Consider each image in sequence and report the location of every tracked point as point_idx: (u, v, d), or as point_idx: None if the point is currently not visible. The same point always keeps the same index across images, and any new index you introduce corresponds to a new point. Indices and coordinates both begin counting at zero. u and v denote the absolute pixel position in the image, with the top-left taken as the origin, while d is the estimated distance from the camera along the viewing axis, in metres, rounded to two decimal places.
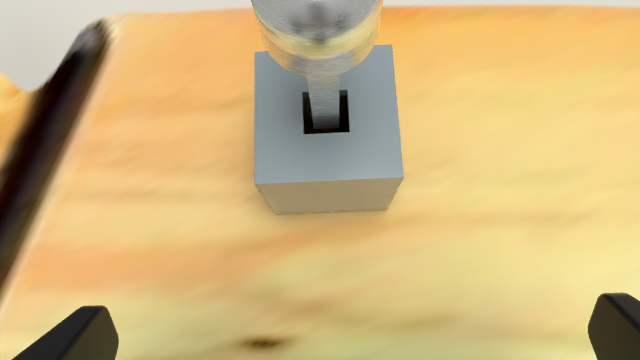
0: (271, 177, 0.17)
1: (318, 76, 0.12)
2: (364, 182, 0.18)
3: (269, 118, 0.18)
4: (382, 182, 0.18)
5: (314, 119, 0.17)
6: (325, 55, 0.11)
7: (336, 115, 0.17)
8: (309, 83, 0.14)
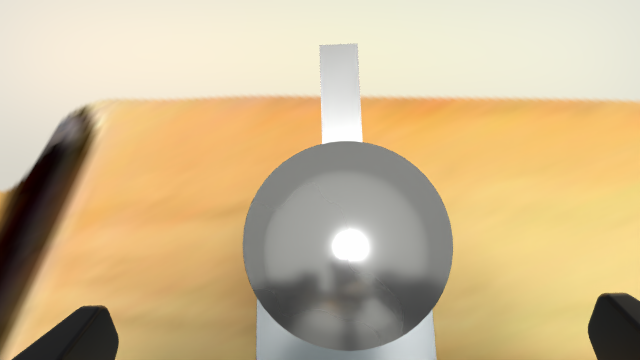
0: (276, 359, 0.14)
1: None
2: None
3: None
4: None
5: None
6: None
7: None
8: None
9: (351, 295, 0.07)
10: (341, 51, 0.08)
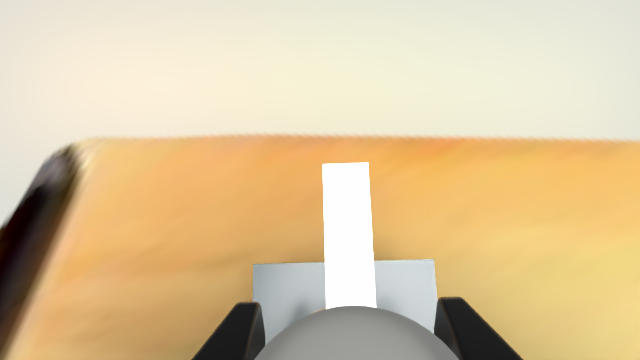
0: None
1: None
2: None
3: None
4: None
5: None
6: None
7: None
8: None
9: None
10: (349, 173, 0.07)
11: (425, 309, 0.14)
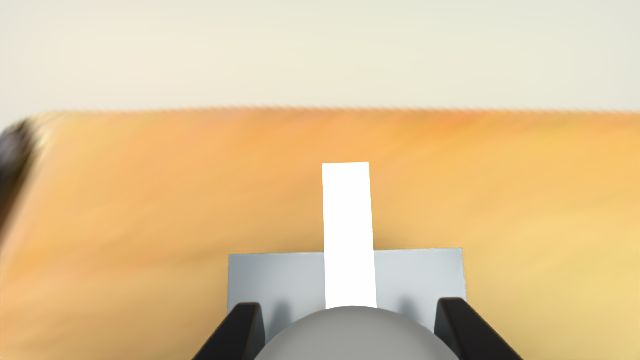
0: None
1: None
2: None
3: None
4: None
5: None
6: None
7: None
8: None
9: None
10: (349, 172, 0.07)
11: None
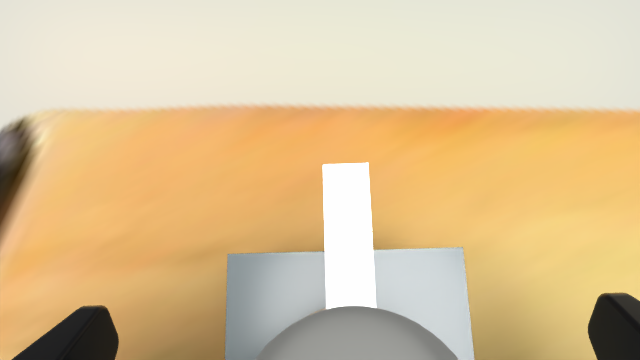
0: None
1: None
2: None
3: None
4: None
5: None
6: None
7: None
8: None
9: None
10: (349, 173, 0.07)
11: (452, 313, 0.10)
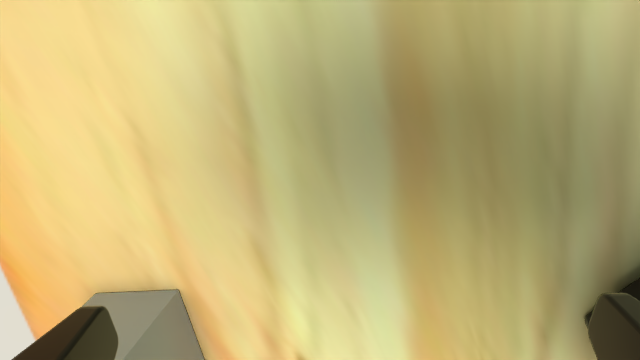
0: None
1: None
2: None
3: None
4: None
5: None
6: None
7: None
8: None
9: None
10: None
11: None
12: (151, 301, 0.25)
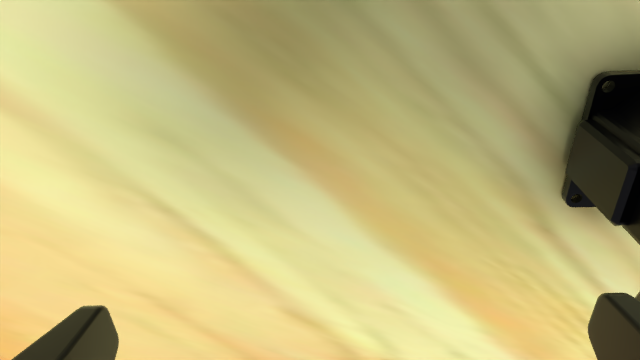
0: None
1: None
2: None
3: None
4: None
5: None
6: None
7: None
8: None
9: None
10: None
11: None
12: None
